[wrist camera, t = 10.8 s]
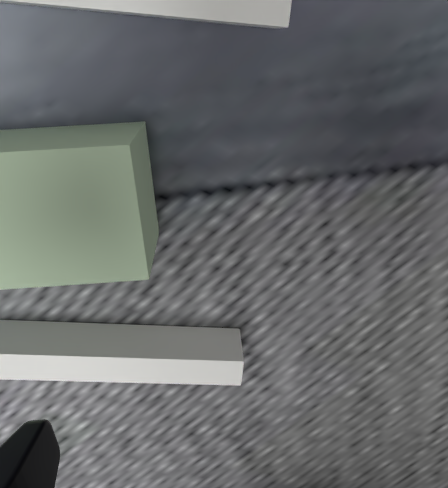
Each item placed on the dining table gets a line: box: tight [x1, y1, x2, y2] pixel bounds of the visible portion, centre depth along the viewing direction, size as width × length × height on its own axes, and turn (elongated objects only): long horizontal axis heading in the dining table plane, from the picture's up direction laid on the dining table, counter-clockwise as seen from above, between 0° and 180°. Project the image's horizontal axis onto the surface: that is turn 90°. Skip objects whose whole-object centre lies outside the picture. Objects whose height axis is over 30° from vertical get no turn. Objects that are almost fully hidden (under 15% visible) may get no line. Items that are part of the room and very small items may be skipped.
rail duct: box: [0, 0, 292, 386], centre depth 19 cm, size 21×32×6 cm, turn 175°
